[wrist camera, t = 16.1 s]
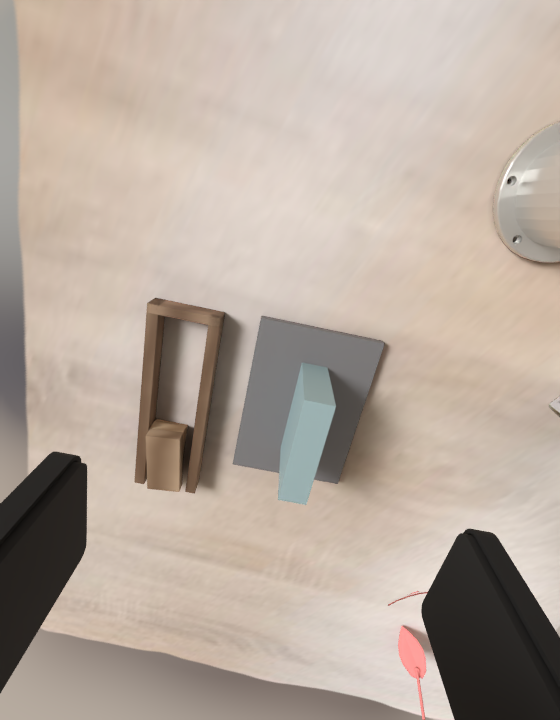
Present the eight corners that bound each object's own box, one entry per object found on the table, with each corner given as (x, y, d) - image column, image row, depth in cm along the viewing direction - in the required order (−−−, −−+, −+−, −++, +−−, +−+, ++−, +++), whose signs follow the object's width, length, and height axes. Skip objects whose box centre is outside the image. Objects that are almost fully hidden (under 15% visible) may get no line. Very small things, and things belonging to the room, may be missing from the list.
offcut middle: (186, 426, 47) (182, 433, 45) (181, 476, 50) (178, 484, 48) (154, 421, 46) (149, 427, 45) (151, 471, 50) (147, 479, 48)
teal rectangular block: (327, 367, 43) (336, 406, 34) (303, 452, 47) (306, 504, 39) (302, 362, 42) (304, 400, 34) (280, 448, 47) (277, 499, 39)
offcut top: (183, 432, 45) (179, 439, 44) (182, 483, 48) (179, 491, 47) (149, 428, 45) (145, 435, 44) (151, 480, 48) (147, 488, 47)
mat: (382, 340, 42) (384, 343, 41) (336, 478, 50) (337, 484, 49) (261, 315, 42) (260, 318, 41) (233, 459, 49) (232, 464, 48)
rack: (224, 312, 42) (220, 318, 39) (199, 480, 51) (194, 493, 48) (155, 297, 41) (147, 303, 39) (141, 469, 50) (134, 482, 48)
